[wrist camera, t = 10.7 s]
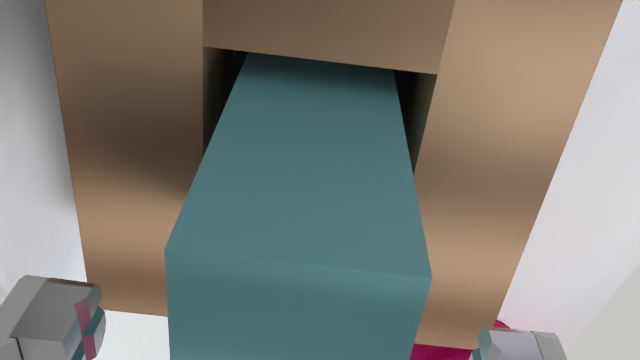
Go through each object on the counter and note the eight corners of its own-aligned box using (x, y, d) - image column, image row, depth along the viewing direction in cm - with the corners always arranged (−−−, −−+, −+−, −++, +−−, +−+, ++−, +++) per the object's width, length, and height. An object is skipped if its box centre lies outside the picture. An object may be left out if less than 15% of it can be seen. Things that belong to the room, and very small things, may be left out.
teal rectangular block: (261, 21, 22) (164, 248, 10) (386, 36, 22) (432, 278, 10) (255, 133, 25) (173, 415, 13) (367, 146, 25) (387, 436, 13)
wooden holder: (107, -158, 19) (21, -150, 14) (571, -98, 19) (650, -69, 14) (138, 219, 28) (91, 308, 23) (458, 255, 28) (483, 351, 23)
